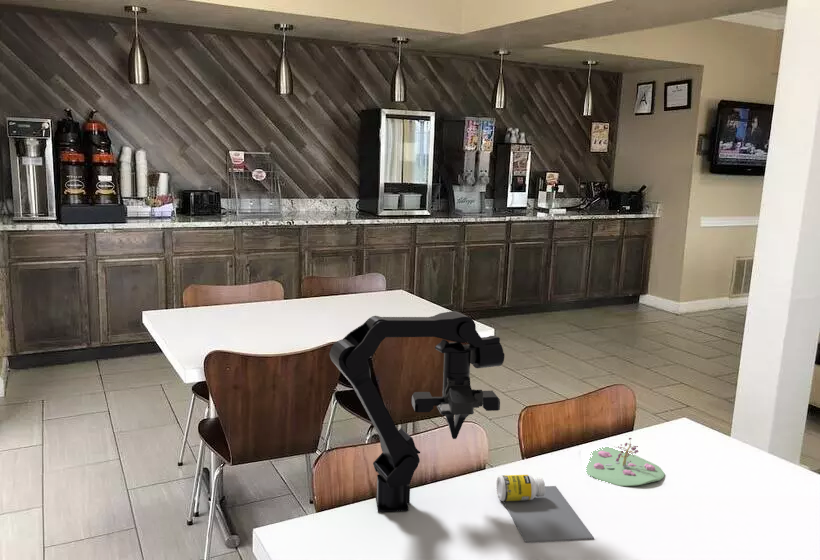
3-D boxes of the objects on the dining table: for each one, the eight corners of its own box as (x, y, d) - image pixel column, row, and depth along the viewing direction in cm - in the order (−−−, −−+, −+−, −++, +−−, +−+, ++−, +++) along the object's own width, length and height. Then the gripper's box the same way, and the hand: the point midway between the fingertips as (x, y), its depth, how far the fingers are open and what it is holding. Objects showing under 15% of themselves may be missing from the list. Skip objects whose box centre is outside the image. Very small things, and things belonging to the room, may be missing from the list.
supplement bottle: (499, 471, 144) (543, 470, 145) (494, 480, 148) (536, 479, 150) (503, 496, 141) (548, 494, 142) (498, 505, 145) (541, 503, 146)
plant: (553, 450, 174) (555, 417, 173) (620, 442, 181) (622, 410, 179) (609, 494, 151) (612, 457, 149) (684, 483, 157) (687, 447, 156)
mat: (525, 542, 129) (525, 541, 129) (496, 489, 150) (496, 488, 150) (594, 539, 131) (594, 537, 131) (555, 487, 152) (555, 485, 152)
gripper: (419, 382, 134) (417, 455, 137) (508, 380, 137) (505, 452, 139) (412, 366, 145) (410, 434, 148) (494, 365, 148) (491, 431, 150)
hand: (454, 438), depth 146 cm, fingers closed
